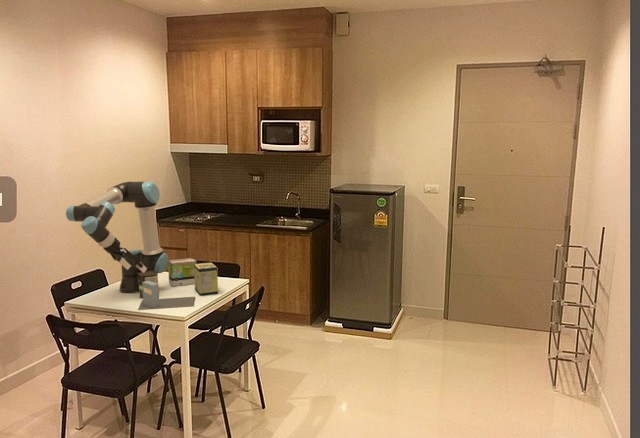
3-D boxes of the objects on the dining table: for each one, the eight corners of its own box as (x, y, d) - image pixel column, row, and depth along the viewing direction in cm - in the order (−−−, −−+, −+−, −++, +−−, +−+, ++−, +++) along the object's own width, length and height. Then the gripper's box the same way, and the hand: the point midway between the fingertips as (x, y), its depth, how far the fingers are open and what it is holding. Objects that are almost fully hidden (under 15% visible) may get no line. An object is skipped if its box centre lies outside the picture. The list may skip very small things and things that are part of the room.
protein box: (212, 287, 299) (211, 261, 297) (218, 294, 285) (217, 267, 283) (194, 289, 295) (193, 263, 293) (200, 296, 281) (199, 269, 279)
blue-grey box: (153, 308, 258) (152, 285, 256) (143, 304, 265) (142, 282, 263) (159, 306, 261) (158, 284, 259) (149, 302, 267) (148, 280, 266)
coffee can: (136, 300, 274) (135, 275, 272) (143, 294, 284) (142, 270, 282) (155, 300, 273) (153, 275, 271) (161, 294, 283) (160, 270, 282)
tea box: (172, 287, 299) (171, 263, 297) (168, 283, 308) (167, 260, 306) (197, 283, 307) (196, 260, 305) (192, 280, 315) (192, 257, 313)
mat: (142, 300, 272) (142, 299, 272) (195, 297, 278) (195, 296, 278) (137, 311, 255) (137, 310, 255) (194, 307, 261) (194, 306, 260)
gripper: (89, 246, 245) (118, 272, 258) (118, 250, 231) (147, 278, 244) (99, 234, 249) (127, 260, 262) (128, 238, 234) (156, 265, 248)
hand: (137, 269), depth 253 cm, fingers open, 13 cm apart
